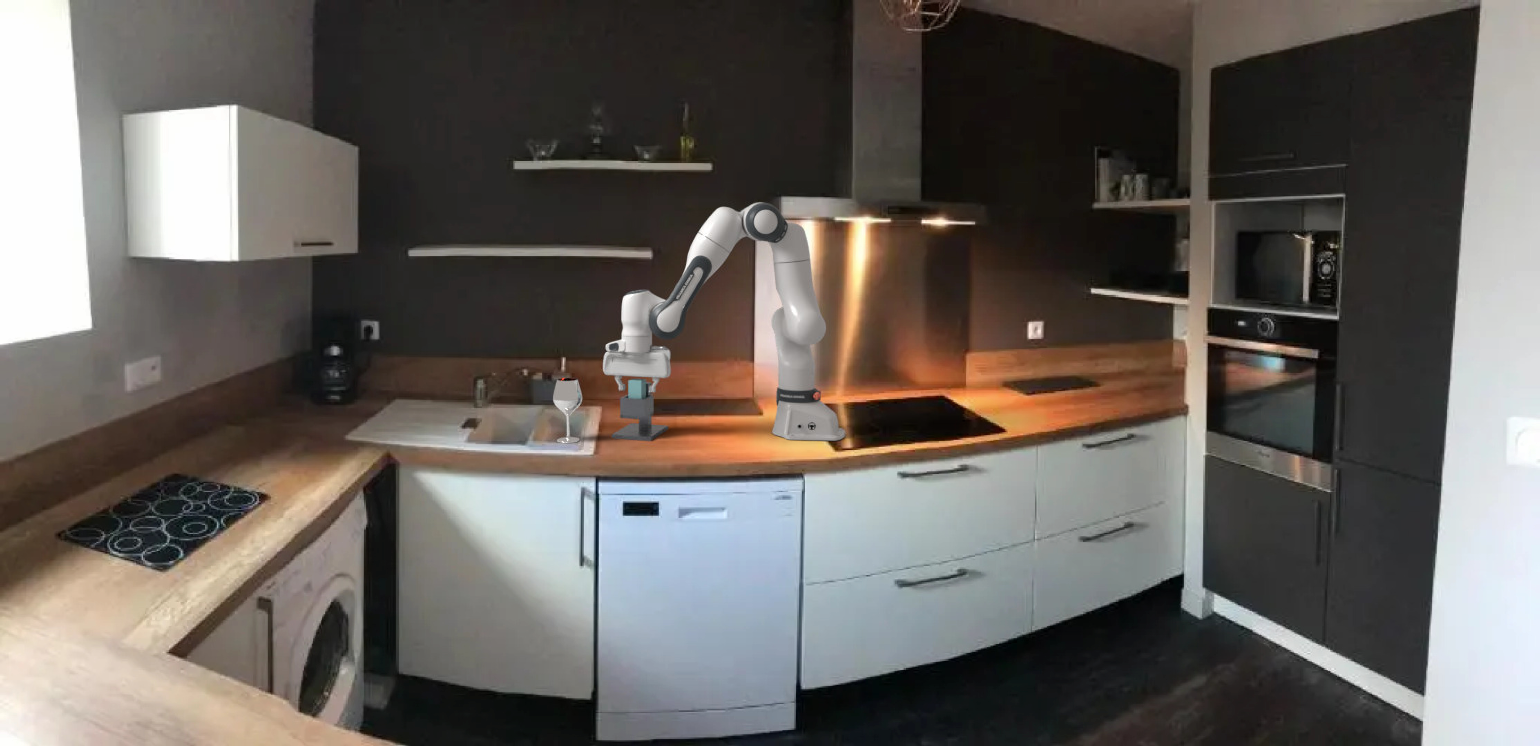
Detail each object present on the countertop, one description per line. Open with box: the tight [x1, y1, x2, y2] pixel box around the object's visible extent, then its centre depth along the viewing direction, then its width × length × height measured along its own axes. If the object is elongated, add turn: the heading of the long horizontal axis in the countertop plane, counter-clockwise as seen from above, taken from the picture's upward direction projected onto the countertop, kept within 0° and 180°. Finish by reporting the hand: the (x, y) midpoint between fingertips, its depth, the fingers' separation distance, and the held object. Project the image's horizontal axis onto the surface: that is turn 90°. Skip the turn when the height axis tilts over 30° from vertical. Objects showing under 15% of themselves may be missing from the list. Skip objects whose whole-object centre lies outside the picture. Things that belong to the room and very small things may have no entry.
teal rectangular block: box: [627, 378, 647, 399], centre depth 256 cm, size 4×4×10 cm
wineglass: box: [552, 377, 583, 444], centre depth 249 cm, size 8×8×18 cm
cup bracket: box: [611, 381, 669, 442], centre depth 259 cm, size 12×16×15 cm
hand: (637, 391), depth 256 cm, fingers open, 8 cm apart
